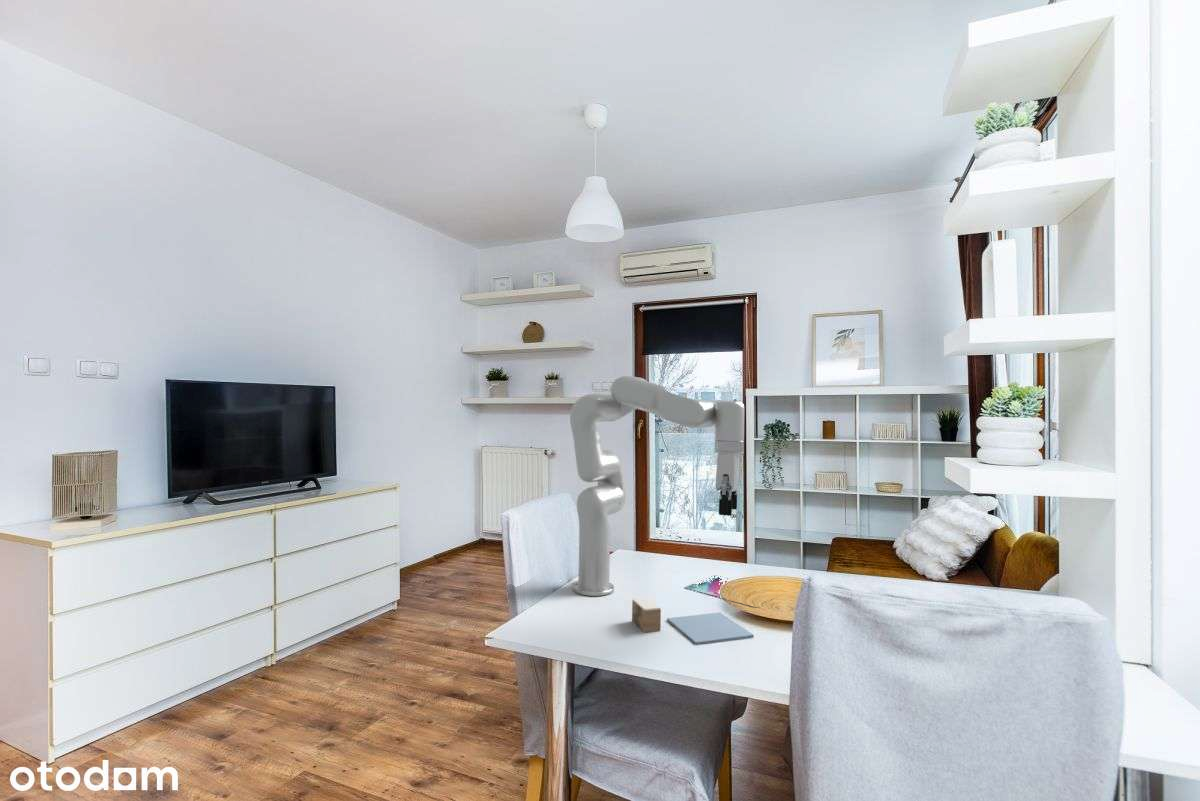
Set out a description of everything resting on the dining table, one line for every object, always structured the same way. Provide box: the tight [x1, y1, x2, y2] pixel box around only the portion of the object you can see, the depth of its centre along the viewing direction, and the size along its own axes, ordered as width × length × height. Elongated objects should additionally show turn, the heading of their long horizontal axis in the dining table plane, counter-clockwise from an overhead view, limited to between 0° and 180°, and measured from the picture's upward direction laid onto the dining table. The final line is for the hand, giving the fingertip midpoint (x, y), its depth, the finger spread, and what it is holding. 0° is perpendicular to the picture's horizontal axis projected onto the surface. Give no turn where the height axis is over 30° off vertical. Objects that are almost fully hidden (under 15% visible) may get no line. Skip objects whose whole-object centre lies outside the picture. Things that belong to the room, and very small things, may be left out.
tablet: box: [683, 575, 729, 599], centre depth 179 cm, size 19×25×1 cm
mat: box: [666, 612, 755, 646], centre depth 148 cm, size 16×16×1 cm
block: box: [631, 597, 662, 634], centre depth 149 cm, size 8×4×6 cm, turn 19°
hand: (728, 511), depth 153 cm, fingers open, 9 cm apart
